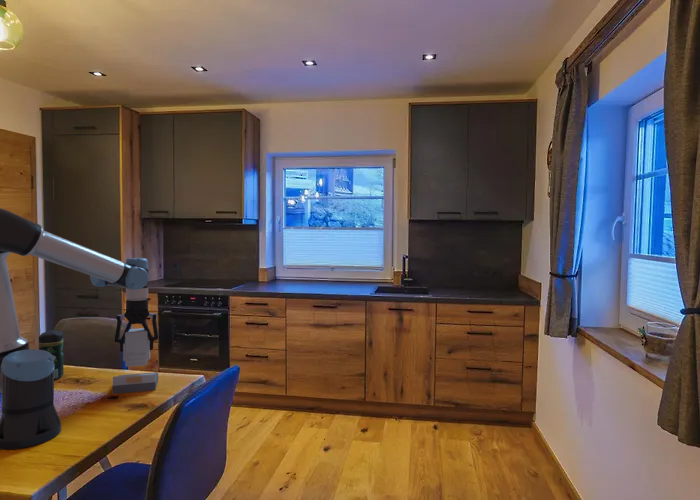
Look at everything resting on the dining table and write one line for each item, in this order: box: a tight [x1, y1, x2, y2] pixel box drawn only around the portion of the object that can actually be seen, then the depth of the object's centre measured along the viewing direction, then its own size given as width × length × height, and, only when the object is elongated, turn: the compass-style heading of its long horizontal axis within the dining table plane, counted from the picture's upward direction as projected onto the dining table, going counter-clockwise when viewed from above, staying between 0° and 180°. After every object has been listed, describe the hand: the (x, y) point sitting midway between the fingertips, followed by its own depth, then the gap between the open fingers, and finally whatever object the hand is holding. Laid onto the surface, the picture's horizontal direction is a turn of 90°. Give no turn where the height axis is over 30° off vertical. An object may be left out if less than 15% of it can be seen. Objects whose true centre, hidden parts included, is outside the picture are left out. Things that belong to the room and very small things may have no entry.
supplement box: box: [124, 327, 149, 368], centre depth 159 cm, size 7×7×13 cm
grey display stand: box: [112, 371, 159, 395], centre depth 159 cm, size 12×14×6 cm
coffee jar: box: [38, 329, 64, 380], centre depth 167 cm, size 10×8×19 cm
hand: (136, 359), depth 159 cm, fingers closed on supplement box, 7 cm apart
